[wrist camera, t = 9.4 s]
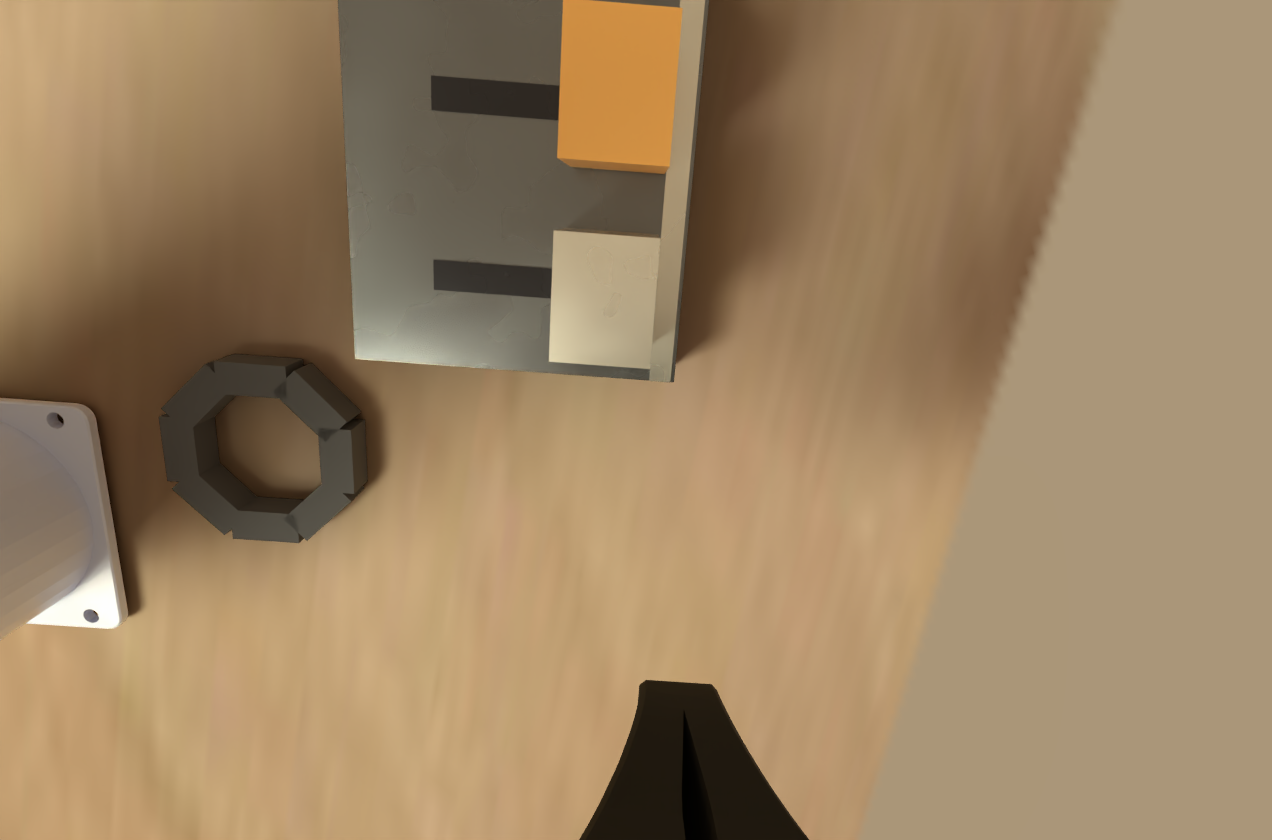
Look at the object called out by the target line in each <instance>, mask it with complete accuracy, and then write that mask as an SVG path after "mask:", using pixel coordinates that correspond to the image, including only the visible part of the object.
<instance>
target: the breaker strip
mask: <svg viewBox="0 0 1272 840" xmlns="http://www.w3.org/2000/svg"><path fill="white" fill-rule="evenodd" d="M593 1H605V2H617V3H630V4H642V5H654V6H666V7H678V8H683V10H682V22H681V34H680V46H679V58H678V70H677V83H676V95H675V107H674V119H673V131H672V143H671V155H670V167H669V168H668V170H667V171H666V173H665V174H656V173H643V172H630V171H617V170H604V169H592V168H579V167H570V166H569V165H567V164H566V163H564V162H563V161H561V160H560V159H558V158H557V150H558V123H559V96H560V69H561V42H562V15H563V0H338V13H339V34H340V55H341V76H342V97H343V118H344V138H345V159H346V180H347V201H348V222H349V243H350V264H351V284H352V305H353V326H354V347H355V359H362V360H376V361H389V362H403V363H417V364H431V365H444V366H458V367H472V368H485V369H499V370H513V371H527V372H540V373H554V374H568V375H582V376H595V377H609V378H623V379H636V380H649V381H658V382H674V375H675V364H676V353H677V342H678V331H679V320H680V310H681V299H682V288H683V277H684V266H685V256H686V245H687V234H688V223H689V212H690V201H691V191H692V180H693V169H694V158H695V147H696V136H697V126H698V115H699V104H700V93H701V82H702V71H703V61H704V50H705V39H706V28H707V17H708V6H709V0H593Z"/></svg>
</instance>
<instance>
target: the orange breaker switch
mask: <svg viewBox="0 0 1272 840" xmlns="http://www.w3.org/2000/svg"><path fill="white" fill-rule="evenodd" d="M682 10H683V8H678V7H666V6H654V5H642V4H630V3H617V2H605V1H593V0H563V15H562V42H561V69H560V96H559V123H558V150H557V158H558V159H560V160H561V161H563V162H564V163H566V164H567V165H569V166H570V167H579V168H592V169H604V170H617V171H630V172H643V173H656V174H665V173H666V171H667V170H668V168H669V167H670V155H671V143H672V131H673V119H674V107H675V95H676V83H677V70H678V58H679V46H680V34H681V22H682Z"/></svg>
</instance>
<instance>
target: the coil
mask: <svg viewBox="0 0 1272 840" xmlns="http://www.w3.org/2000/svg"><path fill="white" fill-rule="evenodd" d="M236 395H238V396H252V397H266V398H279V399H280V400H281V401H282V402H283V403H284V404H285V405H286V406H288V407H289V408H290V409H291V410H292V411H293V412H294V413H295V414H296V415H297V416H298V417H299V418H300V419H301V420H302V421H303V422H304V423H305V424H306V425H307V426H308V427H310V428H311V429H312V430H313V431H314V432H315V433H316V434H317V435H318V437H319V452H320V467H321V483H322V484H321V485H320V486H319V487H318V488H317V489H316V490H315V491H313V492H312V493H311V494H310V495H309V496H308V497H307V498H306V499H305V500H298V499H284V498H269V497H257V496H256V495H254V494H253V493H252V492H251V491H250V490H249V489H248V488H247V487H246V486H245V485H243V484H242V483H241V482H240V481H239V480H238V479H237V478H236V477H235V476H233V475H232V474H231V473H230V472H229V471H228V470H227V469H226V468H225V467H224V466H222V465H221V464H220V461H219V452H218V443H217V434H216V425H215V416H216V415H217V414H218V413H219V412H220V411H221V410H222V409H223V408H224V407H225V406H226V405H227V404H228V403H229V402H230V401H231V400H232V399H233V398H234V397H235V396H236ZM161 409H162V410H163V411H164V412H165V413H166V414H164V415H161V416H159V423H160V430H161V437H162V445H163V452H164V459H165V466H166V474H167V481H176V482H179V483H177V484H176V485H175V486H174V487H173V488H172V489H173V490H174V491H175V492H176V493H177V494H178V495H179V496H181V497H182V498H183V499H184V500H185V501H186V502H187V503H189V504H190V505H191V506H192V507H193V508H194V509H195V510H197V511H198V512H199V513H200V514H201V515H202V516H203V517H205V518H206V519H207V520H208V521H209V522H210V523H211V524H213V525H214V526H215V527H216V528H217V529H218V530H219V531H220V532H222V533H223V534H224V535H225V534H227V533H228V532H229V531H230V530H232V533H233V539H247V540H262V541H276V542H291V543H300V542H301V541H302V540H303V539H304V538H305V539H306V540H308V539H309V538H311V537H312V536H313V535H314V534H315V533H316V532H317V531H318V530H320V529H321V528H322V527H323V526H324V525H325V524H326V523H327V522H329V521H330V520H331V519H332V518H333V517H334V516H335V515H336V514H338V513H339V512H340V511H341V510H342V509H343V508H344V507H345V506H347V505H348V504H349V503H350V502H351V501H352V500H353V499H354V498H355V497H356V496H357V495H358V494H359V493H360V492H361V491H362V490H363V489H364V487H363V485H364V484H365V483H366V482H367V481H368V479H367V456H366V434H365V420H361V419H354V418H355V417H356V416H357V415H358V414H359V413H360V412H361V411H360V410H359V409H358V408H357V407H356V406H355V405H354V404H353V403H352V402H351V401H350V400H349V399H348V398H347V397H346V396H345V395H344V394H343V393H342V392H341V391H340V390H339V389H338V388H337V387H336V386H335V385H334V384H332V383H331V382H330V381H329V380H328V379H327V378H326V377H325V376H324V375H323V374H322V373H321V372H320V371H319V370H318V369H317V368H316V367H315V366H314V365H313V364H312V363H310V364H307V365H305V366H303V359H298V358H284V357H270V356H257V355H243V354H233V355H230V356H227V357H224V358H221V359H218V360H215V361H213V362H210V363H207V364H205V365H204V366H203V367H202V368H201V369H200V370H199V371H198V372H197V373H196V374H195V375H194V376H193V377H192V378H191V379H190V380H189V381H188V382H187V383H186V384H185V385H184V386H183V387H182V388H181V389H180V390H179V391H178V392H177V393H176V394H175V395H174V396H173V397H172V398H171V399H170V400H169V401H168V402H167V403H166V404H165V405H164V406H163V407H162V408H161Z"/></svg>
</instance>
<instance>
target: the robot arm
mask: <svg viewBox="0 0 1272 840" xmlns="http://www.w3.org/2000/svg"><path fill="white" fill-rule="evenodd" d="M57 414H59V415H60V416H61V417H62V418H63V420H64V424H62V423H61V422H60V421H59V420H58V418H57ZM93 610H94V611H95V612H97V613H98V615H99V616H98V615H96V614H95V613H94V612H93ZM127 617H128V609H127V603H126V597H125V591H124V585H123V579H122V573H121V566H120V560H119V554H118V548H117V542H116V536H115V530H114V524H113V518H112V512H111V506H110V500H109V494H108V488H107V482H106V476H105V470H104V464H103V458H102V452H101V446H100V440H99V434H98V428H97V421H96V418H95V415H94V413H93V412H92V411H91V410H90V408H88V407H86V406H85V405H82V404H78V403H66V402H52V401H38V400H24V399H10V398H0V640H2V639H3V638H5V637H6V636H8V635H9V634H11V633H12V632H14V631H15V630H17V629H18V628H20V627H21V626H23V625H24V624H26V623H28V624H43V625H58V626H74V627H89V628H104V629H113V628H116V627H118V626H119V625H121V624H122V623H123V622H124V621H126V619H127ZM580 840H809V839H808V838H807V836H806V835H805V834H804V832H803V831H802V830H801V829H800V827H799V826H798V825H797V823H796V822H795V821H794V819H793V818H792V816H791V815H790V814H789V812H788V811H787V809H786V808H785V807H784V805H783V804H782V802H781V801H780V799H779V798H778V797H777V795H776V794H775V792H774V791H773V789H772V788H771V786H770V785H769V783H768V782H767V780H766V779H765V777H764V775H763V774H762V772H761V771H760V769H759V767H758V766H757V764H756V763H755V761H754V759H753V758H752V756H751V754H750V753H749V751H748V749H747V748H746V746H745V744H744V743H743V741H742V739H741V737H740V736H739V734H738V732H737V730H736V728H735V726H734V725H733V723H732V721H731V719H730V717H729V715H728V713H727V711H726V709H725V707H724V705H723V703H722V701H721V699H720V697H719V694H718V692H717V690H716V689H715V688H714V687H713V685H712V684H698V683H683V682H668V681H653V680H646V681H644V682H643V683H642V684H640V686H639V697H638V706H637V710H636V714H635V718H634V721H633V725H632V728H631V731H630V734H629V737H628V739H627V742H626V745H625V747H624V750H623V753H622V755H621V758H620V761H619V763H618V765H617V768H616V770H615V772H614V774H613V776H612V778H611V781H610V783H609V785H608V787H607V789H606V791H605V793H604V796H603V798H602V800H601V802H600V804H599V806H598V807H597V809H596V811H595V813H594V815H593V817H592V819H591V820H590V822H589V824H588V826H587V828H586V829H585V831H584V833H583V834H582V836H581V838H580Z"/></svg>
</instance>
